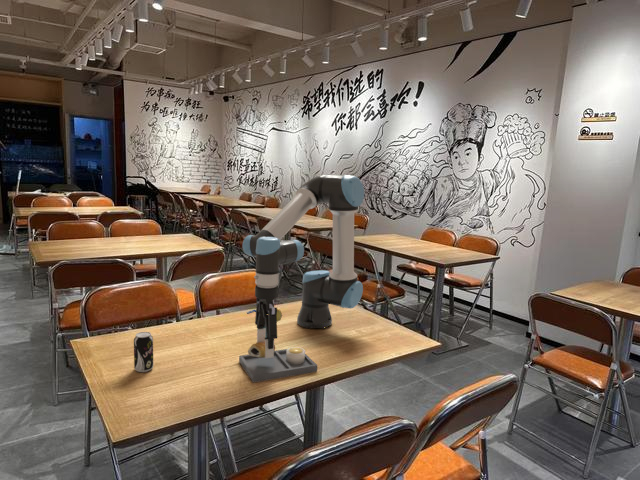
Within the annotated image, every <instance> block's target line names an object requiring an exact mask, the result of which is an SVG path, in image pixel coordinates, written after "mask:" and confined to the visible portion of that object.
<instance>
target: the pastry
mask: <svg viewBox="0 0 640 480" xmlns="http://www.w3.org/2000/svg"><path fill="white" fill-rule="evenodd" d="M274 351H276V346H275V344H274ZM247 352H248V355H250V356H254V357H258V358H264V357H265V342H257V341H256V343H253V344H251V346H250V347H249V349H248V350H247Z"/></svg>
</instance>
